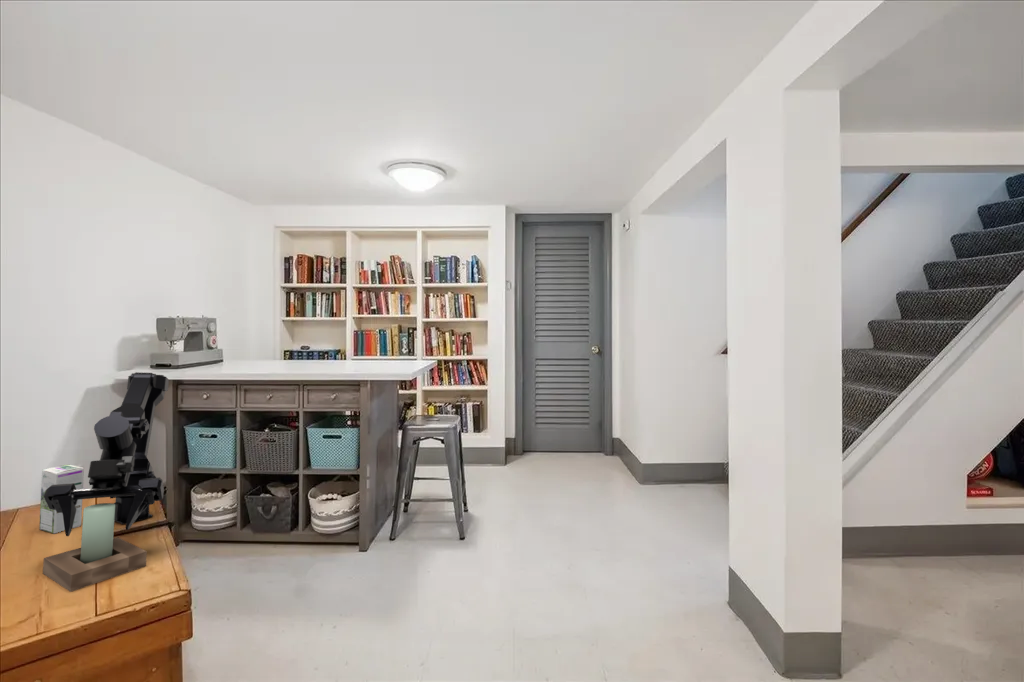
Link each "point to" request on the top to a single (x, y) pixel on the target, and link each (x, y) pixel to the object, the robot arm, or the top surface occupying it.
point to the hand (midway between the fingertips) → (97, 532)
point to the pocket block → (93, 565)
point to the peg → (97, 532)
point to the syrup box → (54, 476)
